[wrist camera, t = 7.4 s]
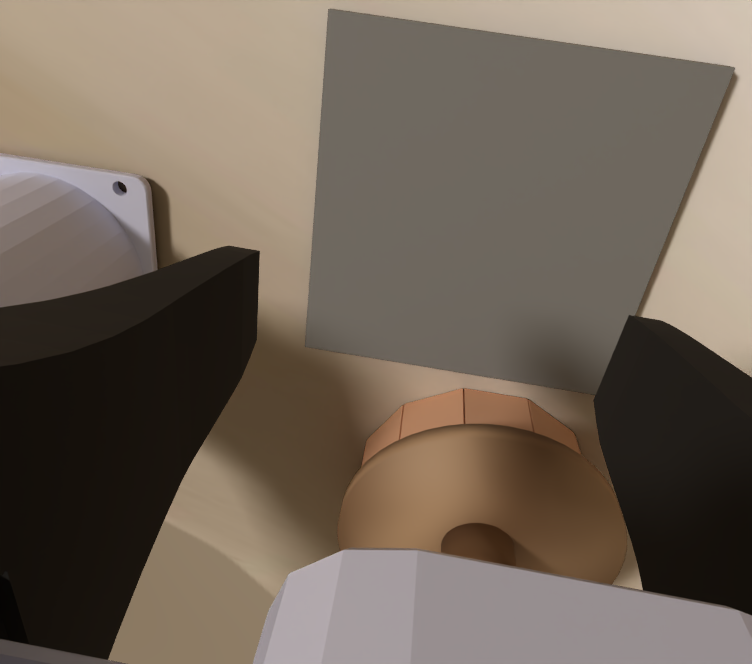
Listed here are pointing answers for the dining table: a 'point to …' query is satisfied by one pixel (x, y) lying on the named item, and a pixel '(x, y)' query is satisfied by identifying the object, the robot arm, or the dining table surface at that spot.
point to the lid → (488, 502)
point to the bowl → (467, 417)
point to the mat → (494, 195)
